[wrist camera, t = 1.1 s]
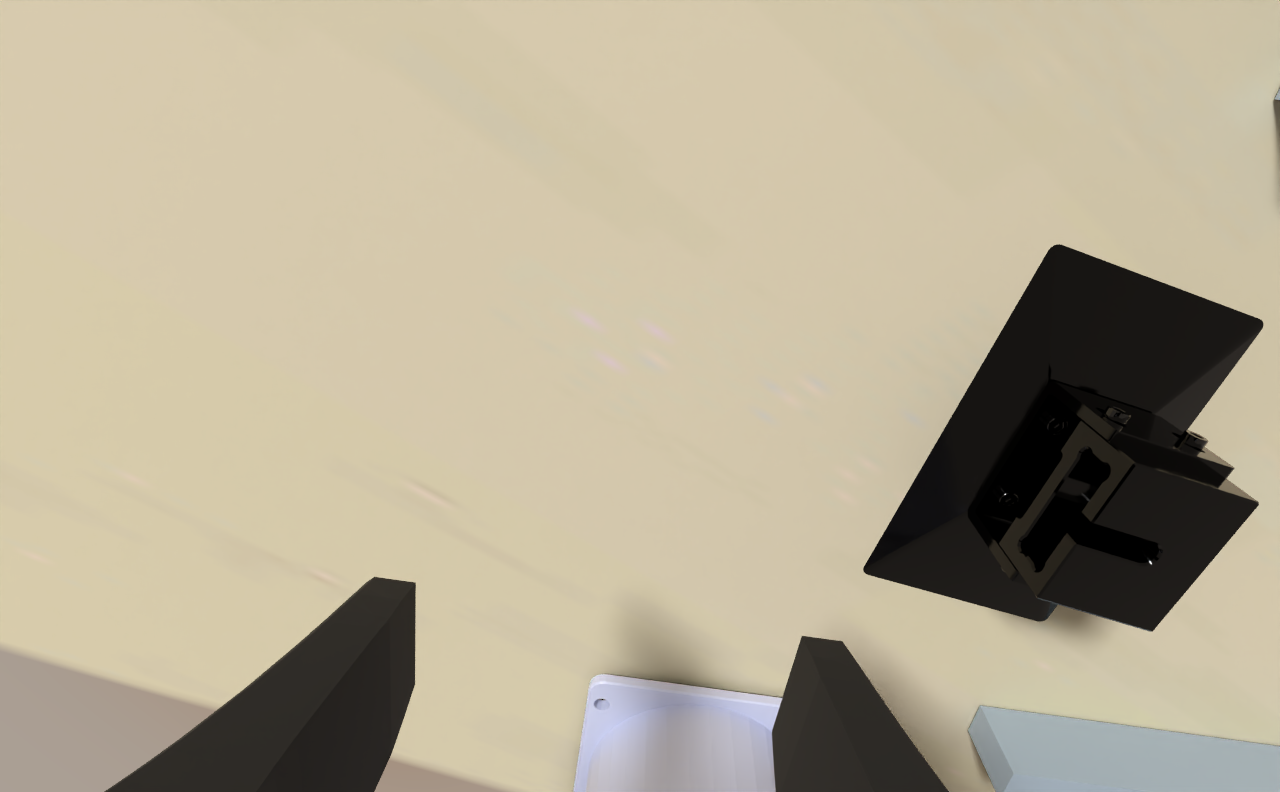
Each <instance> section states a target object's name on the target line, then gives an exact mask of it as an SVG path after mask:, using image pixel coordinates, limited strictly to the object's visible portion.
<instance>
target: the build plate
mask: <svg viewBox="0 0 1280 792" xmlns="http://www.w3.org/2000/svg"><path fill="white" fill-rule="evenodd" d="M1262 328H1263V322H1262V320H1260V319H1258V318H1255V317H1253V316H1250V315H1247V314H1245V313H1242V312H1239V311H1237V310H1234V309H1231V308H1229V307H1226V306H1223V305H1221V304H1218V303H1215V302H1213V301H1210V300H1207V299H1205V298H1202V297H1199V296H1197V295H1194V294H1191V293H1189V292H1186V291H1183V290H1181V289H1178V288H1175V287H1173V286H1170V285H1167V284H1165V283H1162V282H1159V281H1157V280H1154V279H1151V278H1149V277H1146V276H1143V275H1141V274H1138V273H1135V272H1133V271H1130V270H1127V269H1125V268H1122V267H1119V266H1117V265H1114V264H1111V263H1109V262H1106V261H1103V260H1101V259H1098V258H1095V257H1093V256H1090V255H1087V254H1085V253H1082V252H1079V251H1077V250H1074V249H1071V248H1069V247H1066V246H1063V245H1054V246H1053V247H1051V248H1050V249H1049V251H1048V252H1047V254H1046V256H1045V257H1044V259H1043V261H1042V262H1041V264H1040V266H1039V268H1038V269H1037V271H1036V273H1035V274H1034V276H1033V278H1032V280H1031V281H1030V283H1029V285H1028V286H1027V288H1026V290H1025V292H1024V293H1023V295H1022V297H1021V299H1020V300H1019V302H1018V304H1017V305H1016V307H1015V309H1014V311H1013V312H1012V314H1011V316H1010V317H1009V319H1008V321H1007V323H1006V324H1005V326H1004V328H1003V329H1002V331H1001V333H1000V335H999V336H998V338H997V340H996V341H995V343H994V345H993V347H992V348H991V350H990V352H989V353H988V355H987V357H986V359H985V360H984V362H983V364H982V365H981V367H980V369H979V371H978V372H977V374H976V376H975V377H974V379H973V381H972V383H971V384H970V386H969V388H968V389H967V391H966V393H965V395H964V396H963V398H962V400H961V401H960V403H959V405H958V407H957V408H956V410H955V412H954V413H953V415H952V417H951V419H950V420H949V422H948V424H947V425H946V427H945V429H944V431H943V432H942V434H941V436H940V437H939V439H938V441H937V443H936V444H935V446H934V448H933V449H932V451H931V453H930V455H929V456H928V458H927V460H926V461H925V463H924V465H923V467H922V468H921V470H920V472H919V473H918V475H917V477H916V479H915V480H914V482H913V484H912V486H911V487H910V489H909V491H908V492H907V494H906V496H905V498H904V499H903V501H902V503H901V504H900V506H899V508H898V510H897V511H896V513H895V515H894V516H893V518H892V520H891V522H890V523H889V525H888V527H887V528H886V530H885V532H884V534H883V535H882V537H881V539H880V540H879V542H878V544H877V546H876V547H875V549H874V551H873V552H872V554H871V556H870V558H869V559H868V561H867V563H866V564H865V566H864V569H863V570H864V572H865V573H866V574H868V575H871V576H875V577H878V578H882V579H886V580H889V581H893V582H897V583H900V584H904V585H908V586H911V587H915V588H918V589H922V590H926V591H929V592H933V593H937V594H940V595H944V596H948V597H951V598H955V599H959V600H962V601H966V602H969V603H973V604H977V605H980V606H984V607H988V608H991V609H995V610H999V611H1002V612H1006V613H1009V614H1013V615H1017V616H1020V617H1024V618H1028V619H1031V620H1035V621H1044V620H1046V619H1047V618H1048V617H1049V616H1050V614H1051V613H1052V612H1053V610H1054V609H1055V607H1056V606H1057V605H1062V606H1065V607H1069V608H1072V609H1075V610H1079V611H1082V612H1086V613H1089V614H1092V615H1096V616H1099V617H1102V618H1106V619H1109V620H1113V621H1116V622H1119V623H1123V624H1126V625H1130V626H1133V627H1136V628H1140V629H1143V630H1147V631H1153V630H1154V629H1155V628H1156V627H1157V625H1158V624H1159V623H1160V622H1161V621H1162V619H1163V618H1164V617H1165V616H1166V615H1167V614H1168V612H1169V611H1170V610H1171V609H1172V608H1173V606H1174V605H1175V604H1176V603H1177V602H1178V600H1179V599H1180V598H1181V597H1182V596H1183V594H1184V593H1185V592H1186V591H1187V590H1188V589H1189V587H1190V586H1191V585H1192V584H1193V583H1194V581H1195V580H1196V579H1197V578H1198V577H1199V575H1200V574H1201V573H1202V572H1203V571H1204V569H1205V568H1206V567H1207V566H1208V565H1209V563H1210V562H1211V561H1212V560H1213V559H1214V558H1215V556H1216V555H1217V554H1218V553H1219V552H1220V550H1221V549H1222V548H1223V547H1224V546H1225V544H1226V543H1227V542H1228V541H1229V540H1230V538H1231V537H1232V536H1233V535H1234V534H1235V533H1236V531H1237V530H1238V529H1239V528H1240V527H1241V525H1242V524H1243V523H1244V522H1245V521H1246V519H1247V518H1248V517H1249V516H1250V515H1251V513H1252V512H1253V511H1254V510H1255V509H1256V508H1257V506H1258V505H1259V503H1258V501H1256V500H1255V499H1253V498H1252V497H1251V496H1249V495H1248V494H1247V493H1245V492H1244V491H1242V490H1241V489H1240V488H1238V487H1237V486H1235V485H1234V484H1233V483H1231V482H1230V481H1229V480H1227V479H1226V478H1227V477H1228V476H1229V475H1230V473H1231V472H1232V471H1233V470H1234V467H1233V466H1231V465H1230V464H1228V463H1227V462H1226V461H1224V460H1223V459H1221V458H1220V457H1218V456H1217V455H1215V454H1214V453H1213V452H1211V451H1210V450H1208V449H1207V448H1205V445H1206V444H1207V443H1208V440H1207V439H1206V438H1204V437H1203V436H1201V435H1199V434H1197V433H1194V432H1192V431H1189V430H1188V428H1189V427H1190V426H1191V424H1192V423H1193V421H1194V420H1195V419H1196V417H1197V416H1198V415H1199V413H1200V412H1201V411H1202V409H1203V408H1204V407H1205V405H1206V404H1207V403H1208V401H1209V400H1210V399H1211V397H1212V396H1213V394H1214V393H1215V392H1216V390H1217V389H1218V388H1219V386H1220V385H1221V384H1222V382H1223V381H1224V380H1225V378H1226V377H1227V376H1228V374H1229V373H1230V372H1231V370H1232V369H1233V368H1234V366H1235V365H1236V363H1237V362H1238V361H1239V359H1240V358H1241V357H1242V355H1243V354H1244V353H1245V351H1246V350H1247V349H1248V347H1249V346H1250V345H1251V343H1252V342H1253V341H1254V339H1255V338H1256V337H1257V335H1258V334H1259V332H1260V331H1261V330H1262Z"/></svg>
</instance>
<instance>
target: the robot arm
mask: <svg viewBox="0 0 1280 792" xmlns="http://www.w3.org/2000/svg"><path fill="white" fill-rule="evenodd" d="M415 589H416V583H414V582H407V581H399V580H392V579H385V578H378V577H374V578H372V579H371V580H369V581H368V582H366V583H365V584H364V585H363V586H362V587H361V588H360V589H359V590H358V591H357V592H355V593H354V594H353V595H352V596H351V597H350V598H349V599H348V600H347V601H346V602H344V603H343V604H342V605H341V606H340V607H339V608H338V609H337V610H336V611H335V612H333V613H332V614H331V615H330V616H329V617H328V618H327V619H326V620H325V621H323V622H322V623H321V624H320V625H319V626H318V627H317V628H316V629H314V630H313V631H312V632H311V633H310V634H309V635H308V636H306V637H305V638H304V639H303V640H302V641H301V642H300V643H299V644H297V645H296V646H295V647H294V648H293V649H291V650H290V651H289V652H288V653H287V654H286V655H284V656H283V657H282V658H281V659H280V660H278V661H277V662H276V663H275V664H274V665H272V666H271V667H270V668H269V669H268V670H267V671H265V672H264V673H263V674H262V675H261V676H259V677H258V678H257V679H256V680H255V681H253V682H252V683H251V684H250V685H249V686H247V687H246V688H245V689H244V690H242V691H241V692H240V693H239V694H237V695H236V696H235V697H233V698H232V699H231V700H230V701H228V702H227V703H226V704H224V705H223V706H222V707H220V708H219V709H218V710H217V711H215V712H214V713H213V714H212V715H210V716H209V717H208V718H206V719H205V720H204V721H202V722H201V723H200V724H198V725H197V726H196V727H195V728H193V729H192V730H191V731H190V732H188V733H187V734H186V735H184V736H183V737H182V738H180V739H179V740H177V741H176V742H175V743H173V744H172V745H171V746H169V747H168V748H166V749H165V750H164V751H162V752H161V753H160V754H158V755H157V756H155V757H154V758H153V759H151V760H150V761H148V762H147V763H146V764H144V765H143V766H141V767H140V768H138V769H137V770H136V771H134V772H133V773H131V774H130V775H128V776H127V777H125V778H124V779H122V780H121V781H120V782H118V783H117V784H115V785H114V786H112V787H111V788H109V789H108V790H106V791H105V792H374V791H375V789H376V786H377V784H378V782H379V780H380V778H381V775H382V773H383V771H384V769H385V767H386V764H387V762H388V760H389V758H390V756H391V753H392V751H393V748H394V745H395V742H396V739H397V736H398V733H399V730H400V728H401V725H402V722H403V719H404V716H405V713H406V710H407V707H408V704H409V701H410V697H411V694H412V691H413V688H414V685H415ZM599 699H605V700H599ZM573 792H949V791H948V790H947V789H946V787H945V786H944V785H943V783H942V782H941V781H940V779H939V778H938V777H937V775H936V774H935V773H934V771H933V770H932V768H931V767H930V766H929V764H928V763H927V762H926V760H925V759H924V758H923V756H922V755H921V754H920V752H919V751H918V749H917V748H916V747H915V745H914V744H913V743H912V741H911V740H910V738H909V737H908V736H907V734H906V733H905V731H904V730H903V729H902V727H901V726H900V724H899V723H898V721H897V720H896V719H895V717H894V716H893V714H892V713H891V711H890V710H889V708H888V707H887V706H886V704H885V703H884V701H883V700H882V698H881V697H880V695H879V694H878V692H877V691H876V690H875V688H874V687H873V685H872V684H871V682H870V681H869V679H868V678H867V676H866V675H865V673H864V672H863V670H862V669H861V668H860V666H859V665H858V663H857V662H856V660H855V659H854V657H853V656H852V654H851V653H850V652H849V650H848V649H847V647H846V646H845V645H844V643H843V642H842V641H835V640H828V639H821V638H813V637H806V636H802V638H801V641H800V644H799V647H798V650H797V653H796V657H795V660H794V663H793V666H792V669H791V672H790V676H789V679H788V682H787V685H786V688H785V691H784V695H783V698H778V697H771V696H764V695H756V694H749V693H742V692H734V691H727V690H719V689H712V688H705V687H697V686H690V685H682V684H675V683H668V682H660V681H653V680H646V679H638V678H631V677H623V676H616V675H609V674H600V675H597V676H595V677H593V678H592V679H591V681H590V683H589V690H588V696H587V703H586V710H585V716H584V723H583V729H582V736H581V743H580V749H579V756H578V762H577V769H576V776H575V782H574V789H573Z"/></svg>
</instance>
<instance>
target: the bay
mask: <svg viewBox="0 0 1280 792" xmlns="http://www.w3.org/2000/svg"><path fill="white" fill-rule="evenodd" d="M1275 100H1280V89H1279V91H1278V93H1277V95H1276V97H1275ZM968 732H969V734H970V736H971V738H972V741H973V743H974V745H975V747H976V749H977V752H978V754H979V756H980V758H981V760H982V763H983V765H984V767H985V769H986V771H987V774H988V776H989V778H990V780H991V782H992V785H993V787H994V789H995V791H996V792H1280V746H1274V745H1267V744H1259V743H1252V742H1245V741H1237V740H1230V739H1222V738H1215V737H1208V736H1200V735H1193V734H1186V733H1178V732H1171V731H1164V730H1156V729H1149V728H1142V727H1134V726H1127V725H1120V724H1112V723H1105V722H1098V721H1090V720H1083V719H1075V718H1068V717H1061V716H1053V715H1046V714H1039V713H1031V712H1024V711H1017V710H1009V709H1002V708H995V707H987V706H980V707H979V709H978V711H977V713H976V715H975V717H974V719H973V721H972V723H971V725H970V727H969V729H968Z"/></svg>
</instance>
